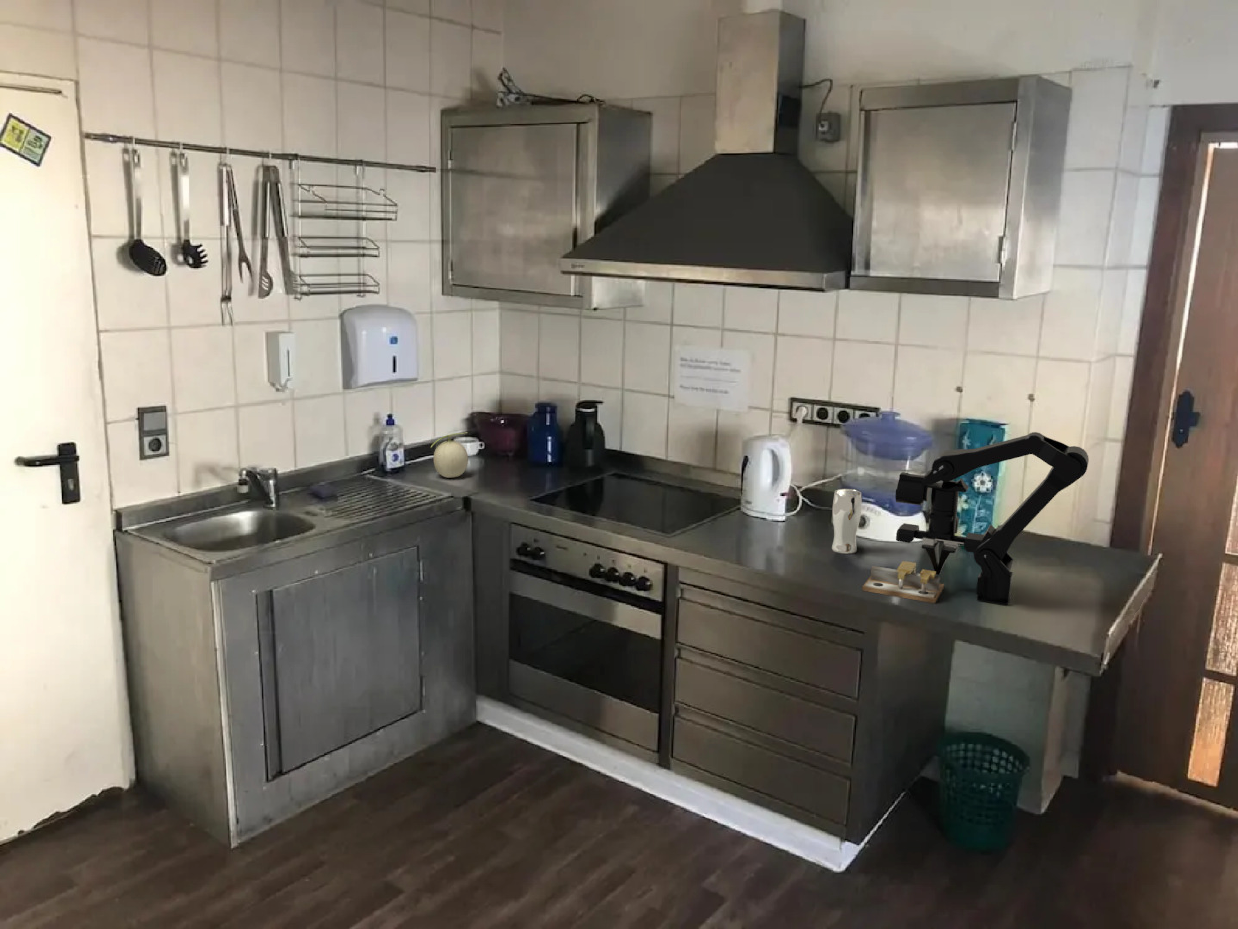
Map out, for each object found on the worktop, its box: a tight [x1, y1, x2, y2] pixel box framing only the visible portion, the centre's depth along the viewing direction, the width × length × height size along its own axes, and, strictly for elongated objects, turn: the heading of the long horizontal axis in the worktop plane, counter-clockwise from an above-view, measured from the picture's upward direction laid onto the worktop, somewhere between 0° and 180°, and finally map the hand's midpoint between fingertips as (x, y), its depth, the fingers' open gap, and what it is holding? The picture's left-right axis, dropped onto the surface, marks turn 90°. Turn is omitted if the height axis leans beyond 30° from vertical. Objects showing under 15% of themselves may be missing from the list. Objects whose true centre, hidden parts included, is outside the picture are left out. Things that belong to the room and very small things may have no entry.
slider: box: [896, 560, 917, 588], centre depth 232 cm, size 3×9×4 cm, turn 153°
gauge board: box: [861, 565, 945, 604], centre depth 231 cm, size 16×10×5 cm, turn 63°
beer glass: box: [831, 488, 863, 555], centre depth 256 cm, size 7×7×15 cm
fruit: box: [430, 431, 469, 479], centre depth 319 cm, size 10×12×15 cm
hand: (937, 574), depth 231 cm, fingers closed
